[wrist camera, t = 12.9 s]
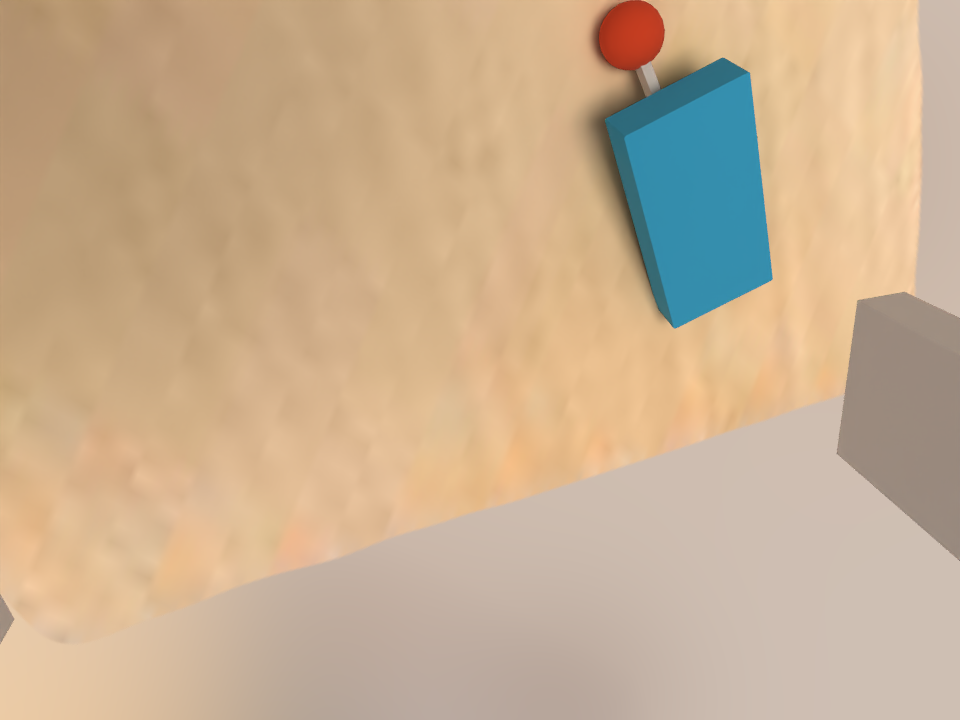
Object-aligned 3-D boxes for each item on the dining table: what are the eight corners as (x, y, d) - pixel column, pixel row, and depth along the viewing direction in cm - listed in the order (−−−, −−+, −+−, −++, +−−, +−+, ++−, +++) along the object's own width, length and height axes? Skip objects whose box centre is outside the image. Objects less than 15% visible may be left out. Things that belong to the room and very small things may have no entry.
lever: (715, 226, 49) (669, -35, 37) (772, 279, 44) (741, -3, 32) (627, 270, 49) (552, 27, 37) (674, 329, 44) (605, 68, 32)
